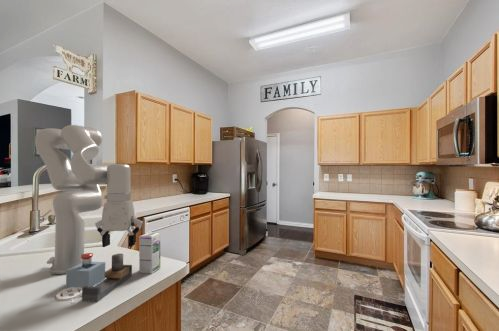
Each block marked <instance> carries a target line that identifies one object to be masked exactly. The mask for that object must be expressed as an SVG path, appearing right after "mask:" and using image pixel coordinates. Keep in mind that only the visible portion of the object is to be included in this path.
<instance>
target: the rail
mask: <svg viewBox="0 0 499 331" xmlns="http://www.w3.org/2000/svg"><path fill="white" fill-rule="evenodd" d="M123 267H129V273H128V274H126V275H125V276H124V277H122V278H105V279H104V280H102V281H101V282H99V283H97V284H96V285H94V286H93V287H91V286H85V287H83V288H82V295H81V301H82V302H93V303H98V302H99V301H101V300H102V299H103V298H105V297H106V296H108V294H110V293H111V292H113V291H114V290H115V289H117V288H118V287H119V286H120V285H121V284H123V283H124V282H126V281H127V280H128V279H130V278H131V277H132V276H133V265H132V264H123Z"/></svg>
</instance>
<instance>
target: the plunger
mask: <svg viewBox="0 0 499 331" xmlns="http://www.w3.org/2000/svg"><path fill="white" fill-rule="evenodd" d="M93 256H94V253H93V252H86V253H84V254H83V255H81V258H82V267H88V266H91V265H92V262H93V261H92V260H93Z"/></svg>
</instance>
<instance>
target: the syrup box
mask: <svg viewBox="0 0 499 331" xmlns="http://www.w3.org/2000/svg"><path fill="white" fill-rule="evenodd" d="M138 240H139V241H138V242H139V244H138V246H139V247H138V248H139V251H138V252H139V254H138V255H139V262H138V263H139V273H141V274H150V275H151V274H153V273H155V272H156V271H157V270H159V269H161V233H160V232H155V231H153V232H151V231H149V232H146V233H144V234H142V235H140V236H139V239H138Z"/></svg>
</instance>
